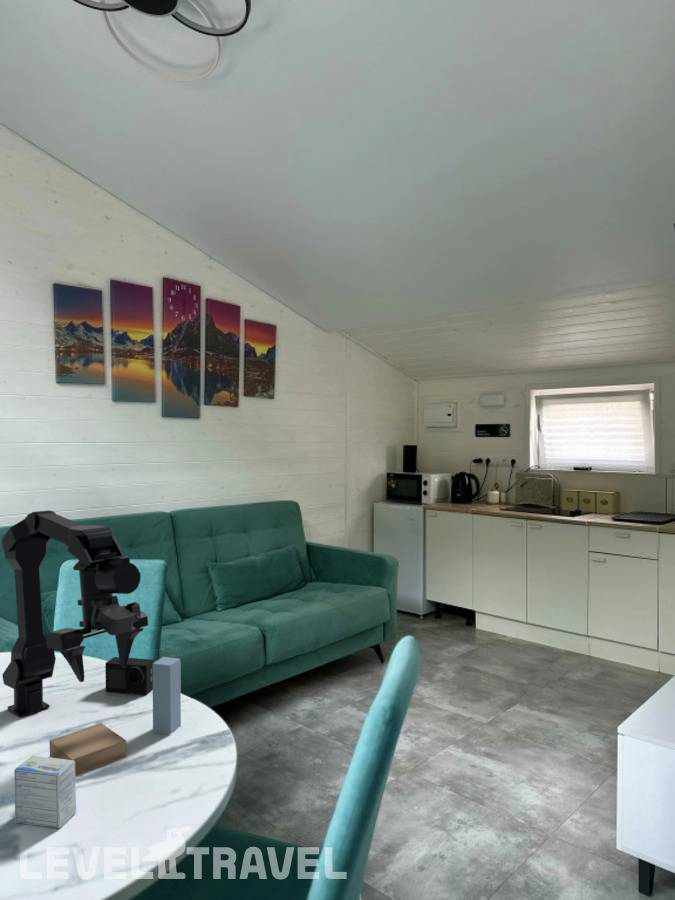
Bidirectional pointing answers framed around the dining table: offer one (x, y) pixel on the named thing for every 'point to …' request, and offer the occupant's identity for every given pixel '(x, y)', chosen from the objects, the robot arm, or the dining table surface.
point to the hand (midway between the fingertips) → (103, 674)
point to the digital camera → (129, 676)
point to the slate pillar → (166, 695)
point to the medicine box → (45, 791)
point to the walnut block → (89, 747)
